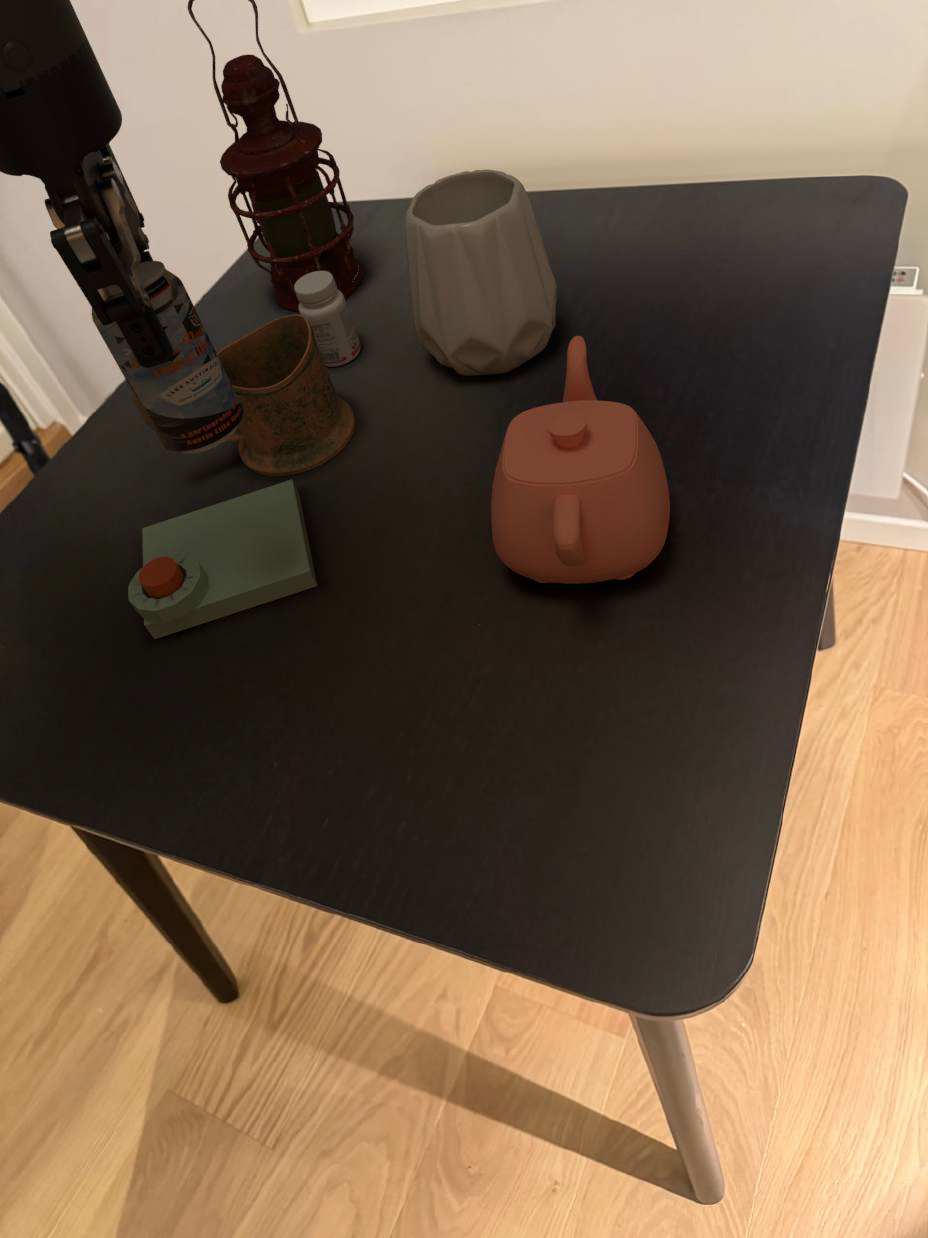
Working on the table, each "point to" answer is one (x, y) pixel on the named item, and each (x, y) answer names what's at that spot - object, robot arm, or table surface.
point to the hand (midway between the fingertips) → (158, 333)
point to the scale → (227, 559)
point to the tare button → (161, 577)
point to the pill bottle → (328, 317)
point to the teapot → (579, 488)
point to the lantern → (282, 181)
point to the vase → (479, 273)
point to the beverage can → (177, 370)
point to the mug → (284, 399)
